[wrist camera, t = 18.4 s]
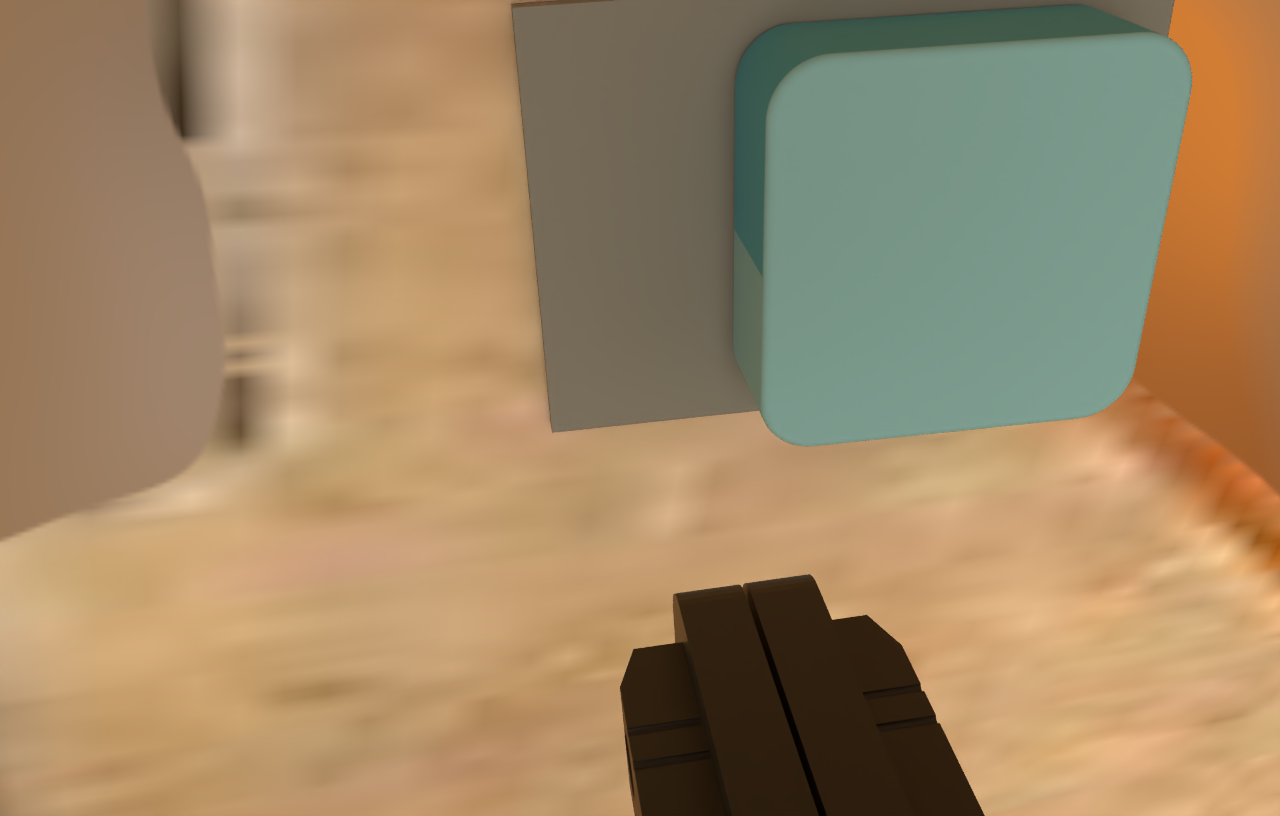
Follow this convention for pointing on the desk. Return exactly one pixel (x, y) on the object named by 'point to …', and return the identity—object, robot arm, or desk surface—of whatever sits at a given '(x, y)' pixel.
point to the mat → (656, 189)
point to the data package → (948, 217)
